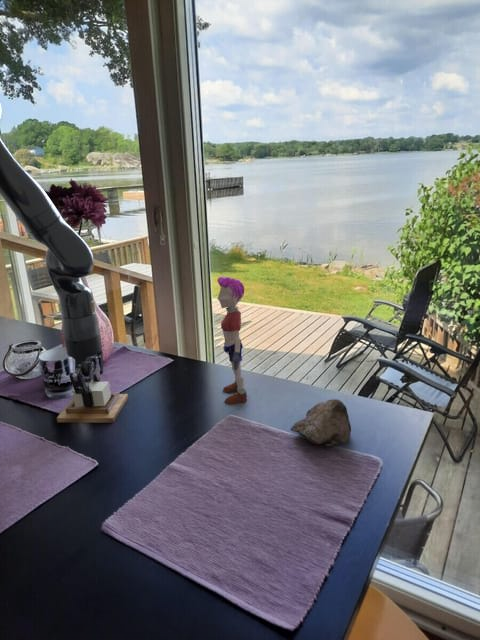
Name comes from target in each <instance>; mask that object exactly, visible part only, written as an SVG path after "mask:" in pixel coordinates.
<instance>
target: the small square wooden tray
mask: <svg viewBox="0 0 480 640" xmlns="http://www.w3.org/2000/svg"><path fill="white" fill-rule="evenodd" d="M128 399H129V395H128V393H119V392H111V397H110V399H109V400H108V402H107V403H106V405H105V406H92V407H85V406H75V402H74V397H73V396H72V398H71V400H70V401H69V402H68V403H67V404H66V406H65V407H64V408H63V409H62V411H60V413H59V414H58V416H57V417H56V422H57V423H90V424H91V423H92V424H93V423H97V424H99V423H100V424H101V423H102V424H103V423H104V424H105V423H107V424H108V423H109V424H110V423H111V424H114V422H115V421H116V419H117V417H118V416H119V414H120V412H121V411H122V409H123V408H124V406H125V404H126V402H127V401H128Z"/></svg>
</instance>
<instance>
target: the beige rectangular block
mask: <svg viewBox="0 0 480 640" xmlns="http://www.w3.org/2000/svg"><path fill="white" fill-rule="evenodd" d="M86 385H87V383H86ZM91 385H92V395H93V401H94V405H93V406H105V405H106V403H107V402H108V400H109V399H110V397H111V393H112V392H111V386H110V382H109V381H100V382H91ZM73 397H74V402H75V406H84V405H83V399H82V394H76V393H75V391H74V389H73V390H72V398H73Z"/></svg>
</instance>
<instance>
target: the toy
mask: <svg viewBox="0 0 480 640" xmlns="http://www.w3.org/2000/svg"><path fill="white" fill-rule="evenodd" d="M217 283H218V285H219V286H220V289H219V292H218V296H217V301H219V304H220V307H221V309H225V310H226V314H225V316H224V317H223V319H222V320H221V322H220V328H221V330H222V334H223V338H224V343H223V348H222V350H223V351H224V353H226V354H227V356H229V357H228V358H229V362H230V364H231V370H232V371H233V373H234V382H233V383H231V384H228V385H226V386H224V387H223V389H222V391H223V392H224V393H226V394H229V393H233V392H234V394H232V395H229V396H227V397H226V398H225V400H224V402H225V404H227V405H228V404H229V405H235V404H240V403H246V402H247V401H248V399H247V398H248V395H247V390H246V387H245V383H244V381H245V380H244V376H243V375H242V368H241V362H242V361H243V355H242V351H243V348H244V345H243V343H242V339H241V338H240V331H241V328H242V313H241V311H240V310H239V308H240V307H239V306H237V305H238V304H239V303H240V301H241V300H242V298H243V297H244V295H245V286H244V284H243V282H242V281H241V280H240V279H237V278H234V277H233V278H232V277H230V276H219V277H218V278H217ZM235 392H236V393H235Z"/></svg>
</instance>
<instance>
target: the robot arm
mask: <svg viewBox="0 0 480 640" xmlns="http://www.w3.org/2000/svg"><path fill="white" fill-rule="evenodd" d="M2 114H3V113H2V104H1V103H0V123H1V121H2ZM0 196H1V198H2V199H3V200H4V202H5V203H6V204H7V206H8V207H9V209H10V210H11V212H13V214H14V215H15V217H16V218H17V220H18V221H19V222H20V223H21V225H22V226H23V228H24V229H25V231H26V232H27V233H28V235H30V236H31V238H32V239H33V240H34V241H35V242H37V243H39V244H42V246H43V245H44V247H46V248H47V250H46V252H45V261H44V262H45V268H46V271H47V274H48V276H49V280H50V281H51V284H52V286H53V289H54V291H55V292H56V295H57V298H58V302H59V308H60V309H59V310H60V315H61V328H62V332H63V337H64V344H65V350H66V354H67V355H68V357H69V358H71V359H73V360H74V364H75V372H74V373H70V374H69V377H70V380H71V383H72V385H71V386H72V388H73V390H74V391H75V393H76V394H82V399H83V405H84V406H85V407H92V406H93V405H94V401H93V395H92V385H91V382H101V380H102V375H104V357H103V355H104V353H103V352H104V351H103V350H102V349H103V345H102V338H101V331H100V326H99V325H100V324H99V320H98V316H97V313H96V312H97V311H96V306H95V301H94V294H93V291H92V289H91V288H90V286H88V285H86V284H85V283H84V282H83V280H82V278H86V277H87V276H88V275H90V274H91V273H92V271H93V269H94V268H95V267H94V266H95V258H94V255H93V251H92V250H91V248H90V247H89V245H88V244H87V242H86V241H85V240H84V239H83V238H82V237H81V236H80V235H79V233H77V232H76V231H75V230H74V229H73V228H72V227H71V226H70V225H69V224H68V223H67V222H66V221H65V219H64V218H63V217H62V215H61V213H60V211H59V209H58V208H57V207H56V206H55V204H54V203H53V201H52V200H51V198H50V197H49V195H48V194H47V192H46V191H45V190H44V189H43V188H42V186H41V185H40V184H39V183H38V182H37V181H36V179H35V178H34V177H33V176H32V175H31V174H30V173H29V172H28V171H27V170H26V169H25V168H24V167H23V166H22V164H20V162H18V161H17V158H15V156H14V155H13V154H12V153H11V151H9V148H8V147H7V146H6V144H5V143H4V142H3V140H2V138H0ZM71 383H70V384H71ZM86 383H87V385H86Z"/></svg>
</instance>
